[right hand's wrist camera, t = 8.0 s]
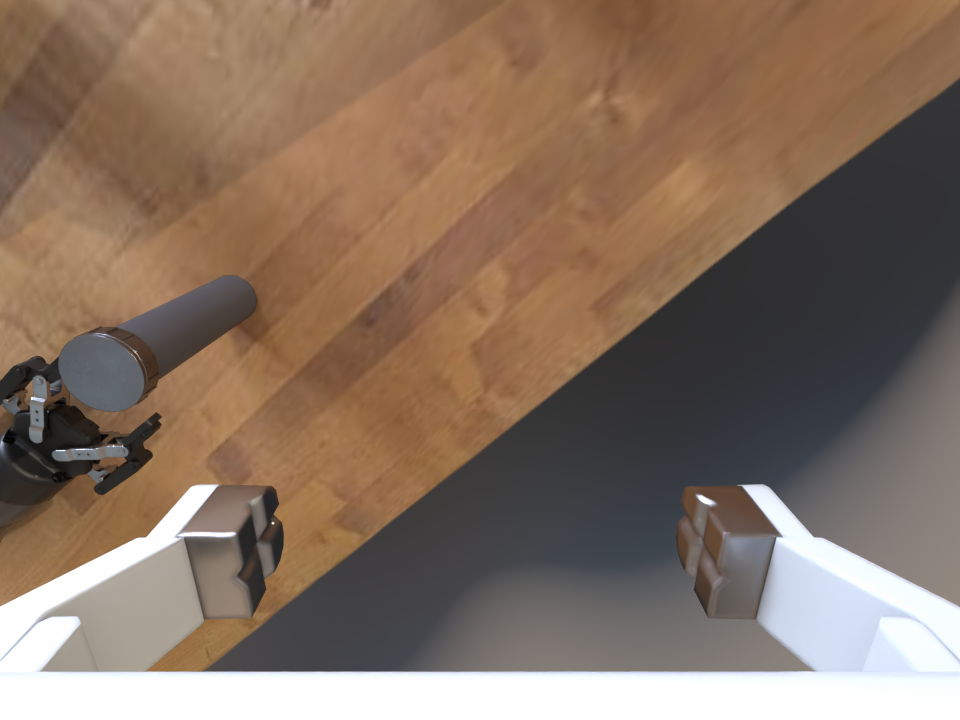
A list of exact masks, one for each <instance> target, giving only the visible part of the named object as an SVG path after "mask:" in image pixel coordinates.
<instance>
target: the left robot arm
mask: <svg viewBox="0 0 960 720" xmlns="http://www.w3.org/2000/svg"><path fill="white" fill-rule="evenodd" d="M58 362H59V357H58V358H57V359H56V360H54V361H53V362H52V363H51V364H50V365H49V364H46V362H45V360H44V359H43V358H42V357H40V356H35V357H32V358H31V359H29V360H27V361H25V362H23V363H21V364H17V365H15V366H13V367H12V369H11V370H10V371H9V372H8V373H7V374H6V375H5V377H4V378H3V379H2V380H1V381H0V405H2V406H3V407H4V408H6V409H7V410H8V411H10V412H11V413H12V414H14V415H15V416H14V420H13V424H12V426H11V427H10V428H9V429H8V430H6V431H5V432H4V433H3V434H2V435H1V436H0V542H1V540H2V538H3V535H4V533H6V532H7V531H8V530H9V529H11V528H12V527H13V526H14V525H15V524H17V523H18V522H19V521H20V520H21V519H23V518H24V517H26V516H27V515H29V514H31V513H32V512H34V511H35V510H37V509H38V508H39V507H41V506H42V505H43V504H44V503H45V502H47V501H49V500H50V499H51V498H53V496H54V495H55V494H56V493H57V492H59V491H60V490H61V489H62V488H63V487H65V486H66V485H67V484H68V483H69V482H70V481H72V480H73V479H74V478H75V477H76V476H78V475H82V474H88V475H89V476H90V477H91V478H92V479H93V480H94V481H95V482H97V483H98V484H97V485H96V486H95V487H94V490H95V492H96V493H97V494H100V495H104V494H105V493H107V492H108V491H110V490H111V489H113V488H114V487H116V486H117V485H118V484H120V483H121V482H123V481H124V480H126V479H127V478H129V477H130V476H131V475H133V474H134V473H136V472H137V471H138V470H139V469H141V468H142V467H143V466H144V465H145V464H146V463H147V462H148V461H149V460H150V459H151V458H152V457H153V454H152V452H151V451H149V450H147V449H145V448H144V446H143V443H144V441H145V440H147V439H148V438H149V437H150V436H151V435H153V434H154V433H155V432H156V431H157V430H158V429H160V427H161V423H160V422H159V421H158V420H159V419H160V418H161V416H160V415H159V414H158V413H157V412H156V413H155V414H154V415H152V416H151V417H150V418H149V419H147V420H146V421H145V422H144V423H143V424H141V425H140V426H139V427H138V428H137V429H135V430H134V431H133V432H132V433H131V434H120V433H119V432H100V431H99V430H98V428H99V426H98V425H97V424H95V423H94V422H93V421H91V420H89V419H87V418H86V417H85V416H84V415H83V413H82V412H81V411H80V410H79V409H78V408H77V407H75V406H72V407H71V406H70V391H69V390H68V389H67V388H66V386H65V384H64V382H63V380H62V378H61V376H60V372H59V366H58ZM32 380H33V397H32V398H31V400H30V406H27V405H26V404H25V402H24V399H25V397H26V393H28V391H27V389H25V387H26V386H27V385H28V384H29V383H30V382H31V381H32ZM53 403H54V404H53ZM106 457H125V459H126V460H127V461H126V462H125V463H124V464H122V465H121V466H119V467H118V465H113V466H111V465H109V466H106V467H102V466H100V465H99V462H100V459H103V458H106Z"/></svg>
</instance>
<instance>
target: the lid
mask: <svg viewBox="0 0 960 720" xmlns="http://www.w3.org/2000/svg"><path fill="white" fill-rule="evenodd" d="M58 366H59V372H60V376H61V378H62V380H63V382H64V384H65V386H66V387H67V389H68V390H69V391H70V392H71V393H72V394H73V395H74V396H75V397H76V398H77V399H78V400H79V401H81V402H82V403H84V404H86V405H88V406H90V407H92V408H94V409H97V410H101V411H107V412H117V411H123V410H126V409H128V408H130V407H132V406H133V405H135V404H136V405H137V404H138V403H140V402H141V401H142V400H144V399H145V398H147V397H148V395H149V394H150V393H151V392H152V391H153V390H154V389H155V388H156V387H157V386H156V385H157V383H158V380H159V374H160V373H159V365H158V362H157V358H156V357H155V355H154V353H153V351H152V350H151V348H150V347H149V346H148V344H146V343H145V342H144V341H143V340H142V339H141V338H139V337H138V336H137V335H135V334H134V333H131V332H129V331H127V330H124V329H121V328H118V327H98V328H96V329H94V330H91V331H89V332H86V333H83V334H81V335H79V336H77V337H74V338H73V339H72V340H71V341H69V342H68V343H67V344H66V345H65V346H64V348H63V349H62V351H61V353H60V356H59V362H58Z"/></svg>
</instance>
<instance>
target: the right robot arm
mask: <svg viewBox="0 0 960 720" xmlns="http://www.w3.org/2000/svg"><path fill="white" fill-rule="evenodd" d="M278 505H279V502H278V497H277V493H276V490H275V489H274V488H273V487H272V486H254V485H196V486H193V487H191V488H190V489H189V490H188V491H187V492H186V493H185V494H184V495H183V497H182V498H181V499H180V500H179V501H178V502H177V503H176V505H175V506H174V507H173V508H172V509H171V510H170V511H169V512H168V514H167V515H166V516H165V517H164V518H163V519H162V520H161V521H160V523H159V524H158V525H157V526H156V527H155V528H154V529H153V530H152V532H151V533H150V534H149V535H148V536H147V537H146V538H136V539H134V540H132V541H130V542H128V543H126V544H124V545H122V546H120V547H118V548H116V549H114V550H112V551H110V552H108V553H106V554H104V555H102V556H100V557H98V558H96V559H94V560H92V561H90V562H88V563H86V564H84V565H82V566H80V567H78V568H76V569H74V570H72V571H70V572H68V573H66V574H64V575H62V576H60V577H58V578H56V579H54V580H52V581H50V582H48V583H46V584H45V585H43V586H41V587H39V588H37V589H35V590H33V591H31V592H29V593H27V594H25V595H23V596H21V597H19V598H17V599H15V600H13V601H11V602H9V603H7V604H5V605H3V606H1V607H0V720H960V607H959V606H957V605H955V604H953V603H951V602H949V601H947V600H945V599H943V598H941V597H939V596H937V595H935V594H933V593H931V592H929V591H927V590H925V589H923V588H921V587H919V586H917V585H915V584H913V583H911V582H909V581H907V580H905V579H903V578H901V577H899V576H897V575H895V574H893V573H891V572H889V571H887V570H885V569H883V568H881V567H879V566H877V565H875V564H873V563H871V562H869V561H867V560H866V559H863V558H862V557H859V556H858V555H856V554H854V553H852V552H850V551H847V550H846V549H844V548H842V547H840V546H838V545H836V544H834V543H832V542H830V541H828V540H826V539H824V538H814V537H813V536H812V535H811V534H810V533H809V532H808V530H807V529H806V528H805V527H804V526H803V525H802V524H801V523H800V521H799V520H798V519H797V518H796V517H795V516H794V515H793V514H792V512H791V511H790V510H789V509H788V508H787V507H786V506H785V505H784V503H783V502H782V501H781V500H780V499H779V498H778V497H777V496H776V494H775V493H774V492H773V491H772V490H771V489H770V488H769V487H767V486H765V485H763V484H760V485H737V486H691V487H686V488H685V491H684V492H683V497H682V502H681V505H682V507H683V508H684V510H685V512H686V515H685V516H684V517H683V518H682V519H681V520H680V521H679V522H678V527H677V535H676V541H677V551H678V555H679V558H680V562H681V564H682V566H683V568H684V570H685V572H686V573H688V574H689V575H690V576H692V577H693V578H695V579H696V582H695V588H694V591H695V593H696V594H697V597H698V598H699V601H700V603H701V604H702V606H703V608H704V610H705V612H706V614H707V616H708V618H722V619H756V623H758V624H759V625H760V626H761V627H762V628H763V629H765V630H766V631H767V632H768V633H770V634H771V635H772V636H773V637H774V638H775V639H777V640H778V641H779V642H780V643H781V644H782V645H784V646H785V647H786V648H787V649H788V650H790V651H791V652H792V653H793V654H794V655H796V656H797V657H798V658H799V659H800V660H801V661H803V662H804V663H805V664H806V665H807V666H809V667H810V668H811V669H812V670H813V671H815V672H146V671H147V670H148V669H149V668H150V667H152V666H153V665H154V664H155V663H156V662H158V661H159V660H160V659H161V658H162V657H163V656H165V655H166V654H167V653H168V652H169V651H171V650H172V649H173V648H174V647H175V646H177V645H178V644H179V643H180V642H181V641H182V640H184V639H185V638H186V637H187V636H188V635H190V634H191V633H192V632H193V631H194V630H196V629H197V628H198V627H199V626H200V625H202V624H203V623H204V619H237V618H252V616H253V614H254V612H255V611H256V609H257V607H258V605H259V603H260V601H261V599H262V597H263V595H264V593H265V591H266V587H265V582H264V579H265V578H267V577H268V576H270V575H271V574H272V573H274V572H275V570H276V568H277V566H278V564H279V562H280V559H281V554H282V550H283V538H284V533H283V526H282V522H281V521H280V520H279V519H278V518H277V517H276V516H275V515H274V512H275V510H276V508H277V507H278Z"/></svg>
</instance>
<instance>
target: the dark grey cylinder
mask: <svg viewBox="0 0 960 720" xmlns="http://www.w3.org/2000/svg"><path fill="white" fill-rule="evenodd" d="M256 303H257V300H256V295H255V292H254V290H253V288H252V287H251V286H250V285H249V284H248V283H247V282H246V281H245V280H243V279H241V278H239V277H237V276H231V275H228V276H223V277H220V278H218V279H216V280H214V281H212V282H210V283H207V284H205V285H203V286H201V287H199V288H197V289H195V290H193V291H190V292H188V293H186V294H184V295H182V296H180V297H178V298H176V299H173V300H171V301H169V302H167V303H165V304H163V305H161V306H159V307H156V308H154V309H152V310H150V311H148V312H146V313H144V314H142V315H140V316H137V317H135V318H133V319H131V320H129V321H127V322H125V323H123V324H120V325H118V326H116V327H118V328H121V329H124V330H127V331H129V332H131V333H134V334H135V335H137V336H138V337H139V338H141V339H142V340H143V341H144V342H145V343H146V344H148V346H149V347H150V348H151V350H152V351H153V353H154V355H155V357H156V358H157V362H158V365H159V373H160V374H159V379H161V378H162V377H163V376H165V375H166V374H168V373H169V372H171V371H172V370H173V369H175V368H176V367H178V366H179V365H181V364H182V363H183V362H185V361H186V360H188V359H189V358H191V357H192V356H193V355H195V354H196V353H198V352H199V351H201V350H202V349H203V348H205V347H206V346H208V345H209V344H211V343H212V342H213V341H215V340H216V339H218V338H219V337H221V336H222V335H223V334H225V333H226V332H228V331H229V330H231V329H232V328H233V327H235V326H236V325H238V324H239V323H241V322H242V321H243V320H245V319H246V318H248V317H249V316H250V315H251V314H252V313H253V312H254V310H255V308H256Z"/></svg>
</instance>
